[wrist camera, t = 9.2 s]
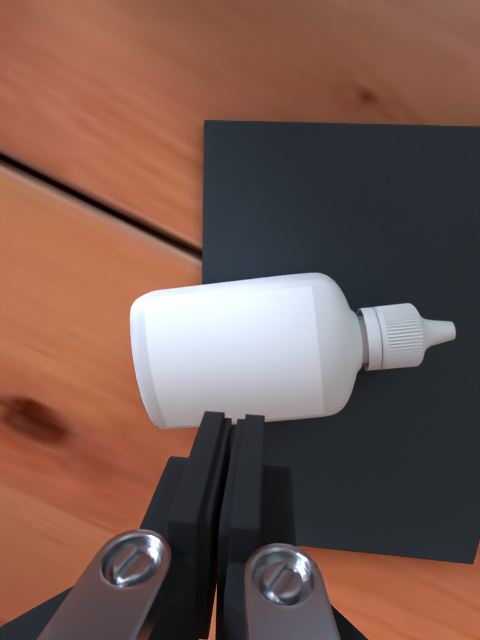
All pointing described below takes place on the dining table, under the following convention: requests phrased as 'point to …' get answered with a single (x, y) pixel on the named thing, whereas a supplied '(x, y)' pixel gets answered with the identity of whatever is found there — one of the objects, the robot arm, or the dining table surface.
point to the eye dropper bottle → (266, 348)
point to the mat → (362, 292)
